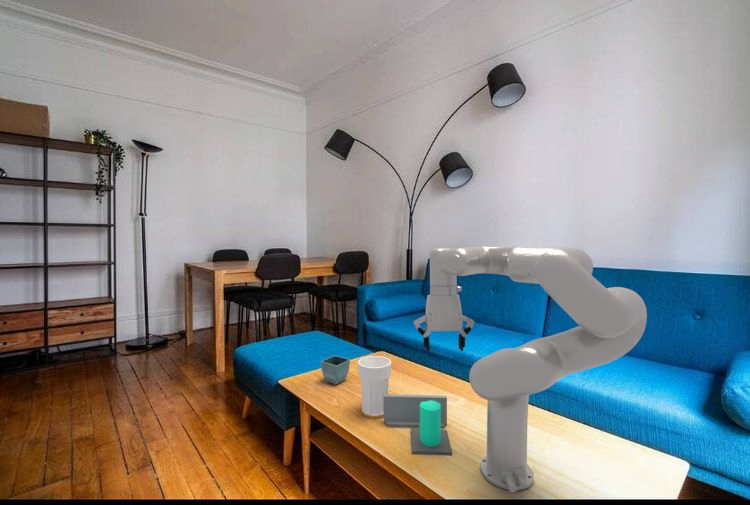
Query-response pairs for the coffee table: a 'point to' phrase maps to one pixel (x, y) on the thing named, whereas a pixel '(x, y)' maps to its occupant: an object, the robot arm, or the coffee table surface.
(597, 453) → the coffee table surface
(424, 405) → the candle
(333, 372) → the flower pot
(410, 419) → the board
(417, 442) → the mat
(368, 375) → the cup
